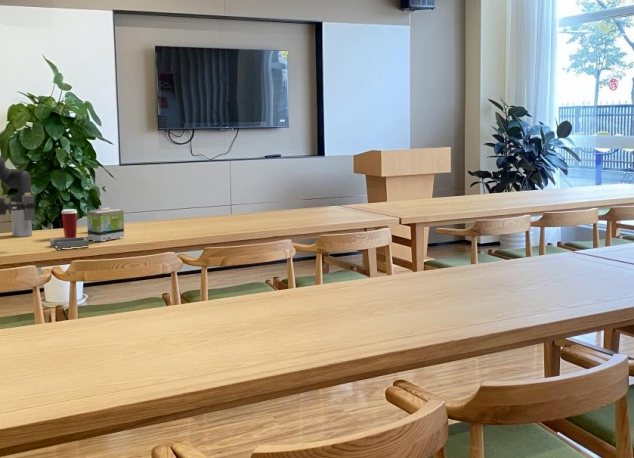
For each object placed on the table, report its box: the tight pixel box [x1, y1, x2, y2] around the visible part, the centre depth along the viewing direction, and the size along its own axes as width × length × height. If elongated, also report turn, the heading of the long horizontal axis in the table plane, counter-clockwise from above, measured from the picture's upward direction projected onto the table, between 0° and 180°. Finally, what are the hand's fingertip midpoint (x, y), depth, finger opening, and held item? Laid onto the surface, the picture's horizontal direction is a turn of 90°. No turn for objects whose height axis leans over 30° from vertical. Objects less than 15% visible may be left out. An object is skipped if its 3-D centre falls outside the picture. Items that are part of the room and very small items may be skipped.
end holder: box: [53, 236, 90, 250], centre depth 319 cm, size 10×14×4 cm
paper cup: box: [60, 208, 78, 239], centre depth 344 cm, size 8×8×14 cm
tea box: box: [86, 208, 125, 242], centre depth 339 cm, size 15×10×15 cm, turn 148°
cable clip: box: [49, 238, 55, 247], centre depth 322 cm, size 3×4×3 cm
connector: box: [22, 192, 36, 221], centre depth 313 cm, size 4×4×12 cm
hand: (34, 205), depth 314 cm, fingers closed on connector, 4 cm apart
